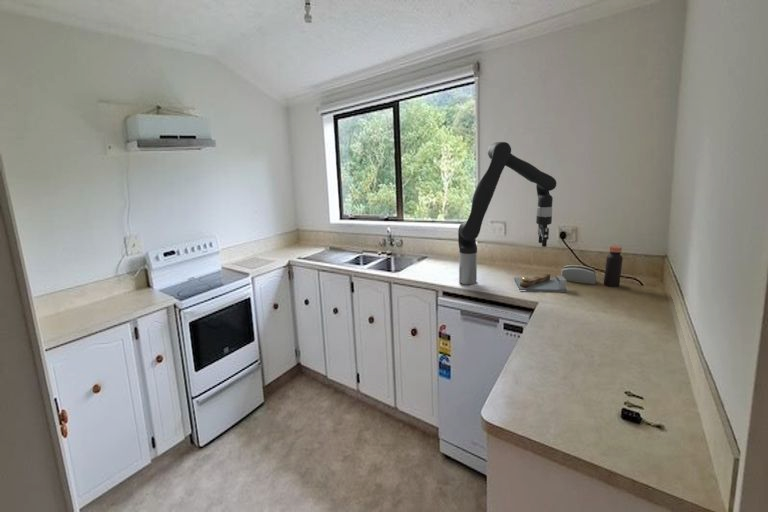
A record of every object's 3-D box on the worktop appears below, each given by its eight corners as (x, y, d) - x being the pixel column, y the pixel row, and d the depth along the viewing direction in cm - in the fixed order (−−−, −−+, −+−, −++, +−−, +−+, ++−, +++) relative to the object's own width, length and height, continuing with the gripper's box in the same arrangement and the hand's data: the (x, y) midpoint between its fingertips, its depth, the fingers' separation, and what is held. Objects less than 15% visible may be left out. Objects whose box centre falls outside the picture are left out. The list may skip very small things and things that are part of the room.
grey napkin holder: (596, 281, 193) (597, 265, 187) (595, 286, 189) (596, 271, 184) (561, 276, 202) (561, 262, 196) (559, 282, 198) (560, 267, 193)
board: (519, 291, 184) (519, 288, 184) (514, 279, 201) (514, 277, 201) (566, 292, 180) (567, 289, 180) (557, 280, 197) (557, 278, 197)
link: (525, 287, 184) (525, 283, 183) (518, 285, 188) (518, 280, 187) (552, 279, 194) (552, 275, 193) (545, 277, 197) (545, 273, 197)
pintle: (522, 281, 185) (522, 278, 185) (521, 279, 188) (521, 277, 187) (528, 281, 185) (528, 278, 184) (527, 279, 187) (527, 277, 187)
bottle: (605, 282, 190) (610, 244, 185) (620, 284, 186) (625, 246, 181) (601, 285, 186) (606, 247, 181) (617, 288, 181) (622, 249, 176)
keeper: (559, 289, 180) (559, 280, 179) (555, 284, 187) (556, 275, 186) (565, 289, 180) (566, 280, 179) (561, 284, 187) (562, 275, 185)
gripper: (534, 213, 202) (532, 241, 206) (539, 217, 189) (537, 247, 193) (548, 212, 201) (546, 241, 205) (555, 217, 187) (552, 247, 191)
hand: (542, 244), depth 199 cm, fingers open, 8 cm apart
